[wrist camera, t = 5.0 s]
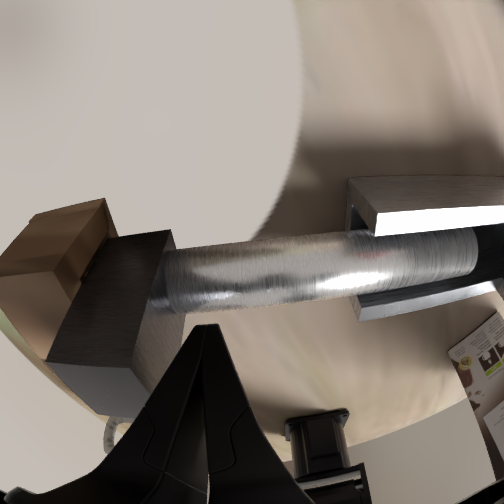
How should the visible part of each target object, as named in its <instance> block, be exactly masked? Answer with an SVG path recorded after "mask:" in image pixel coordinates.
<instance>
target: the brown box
mask: <svg viewBox="0 0 504 504" xmlns="http://www.w3.org/2000/svg"><path fill="white" fill-rule="evenodd" d="M113 237H119V236H118V234H117V231H116V228H115V226H114V223H113V220H112V217H111V214H110V212H109V209H108V206H107V203H106V200H105V198H102V199H97V200H92V201H88V202H83V203H80V204H75V205H71V206H67V207H63V208H59V209H55V210H51V211H47V212H43V213H39V214H36V215H35V216H34V217H33V218H32V219H31V220H30V221H29V224H28V225H27V226H26V227H25V228H24V230H23V231H22V232H21V233H20V234H19V235H18V236H17V237H16V239H14V241H13V242H12V243H11V244H10V245H9V247H8V248H7V249H6V250H5V251H4V252H3V253H2V255H1V256H0V308H1V309H2V311H3V312H4V314H5V315H6V316H7V318H8V319H9V320H10V322H11V323H12V325H13V326H14V327H15V329H16V330H17V331H18V332H19V334H20V335H21V336H22V338H23V339H24V340H25V341H26V343H27V344H28V345H29V346H30V347H31V349H32V350H33V351H34V352H35V353H36V354H37V356H38V357H39V358H40V359H41V360H42V361H43V362H44V364H45V365H46V366H47V367H48V368H49V369H50V370H51V371H52V372H53V373H55V372H54V371H53V370H52V369H51V368H50V367H49V366H48V365H47V364H46V363H45V360H46V358H47V355H48V353H49V351H50V348H51V346H52V344H53V341H54V339H55V337H56V335H57V332H58V330H59V328H60V326H61V324H62V322H63V319H64V317H65V315H66V313H67V311H68V309H69V307H70V305H71V303H72V301H73V299H74V297H75V295H76V293H77V291H78V289H79V288H80V286H81V282H80V280H79V279H80V277H81V276H82V274H83V272H84V270H85V269H86V267H87V265H88V263H89V262H90V260H94V259H96V257H97V255H98V253H99V252H100V250H101V248H102V247H103V245H104V243H105V242H106V240H107V238H113Z"/></svg>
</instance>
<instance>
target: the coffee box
mask: <svg viewBox="0 0 504 504" xmlns="http://www.w3.org/2000/svg"><path fill="white" fill-rule="evenodd" d="M448 354H449V356H450V358H451V360H452V362H453V365H454V367H455V369H456V371H457V373H458V376H459V378H460V380H461V382H462V385H463V387H464V389H465V392H466V394H467V396H468V399H469V401H470V403H471V406H472V408H473V411H474V413H475V416H476V419H477V422H478V424H479V427H480V430H481V433H482V435H483V438H484V441H485V444H486V447H487V451H488V454H489V457H490V460H491V464H492V467H493V470H494V474H495V478H496V481H497V480H499V479H501V478H503V477H504V320H503V318H502V316H501V315H500V313H499V312H497V313H495V314H494V315H493V316H492V317H491V318H490V319H488V320H487V321H486V322H485V323H484V324H482V325H481V326H480V327H479V328H478V329H476V330H475V331H474V332H473V333H471V334H470V335H469V336H468V337H466V338H465V339H464V340H462V341H461V342H460V343H458V344H457V345H455V346H454V347H453V348H451V349H450V350H449V352H448Z"/></svg>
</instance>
